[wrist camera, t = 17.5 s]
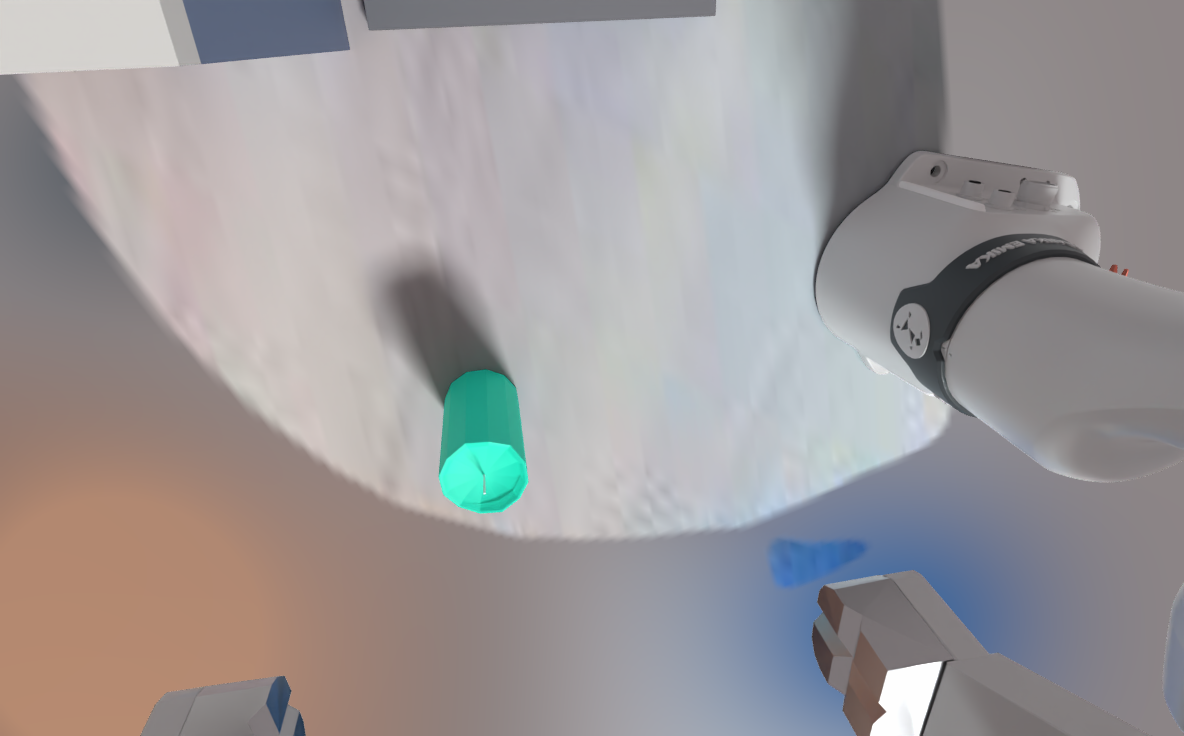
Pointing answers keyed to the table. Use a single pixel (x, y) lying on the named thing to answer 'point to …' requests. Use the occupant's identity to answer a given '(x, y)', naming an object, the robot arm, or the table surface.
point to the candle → (482, 443)
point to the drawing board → (522, 11)
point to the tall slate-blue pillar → (161, 32)
